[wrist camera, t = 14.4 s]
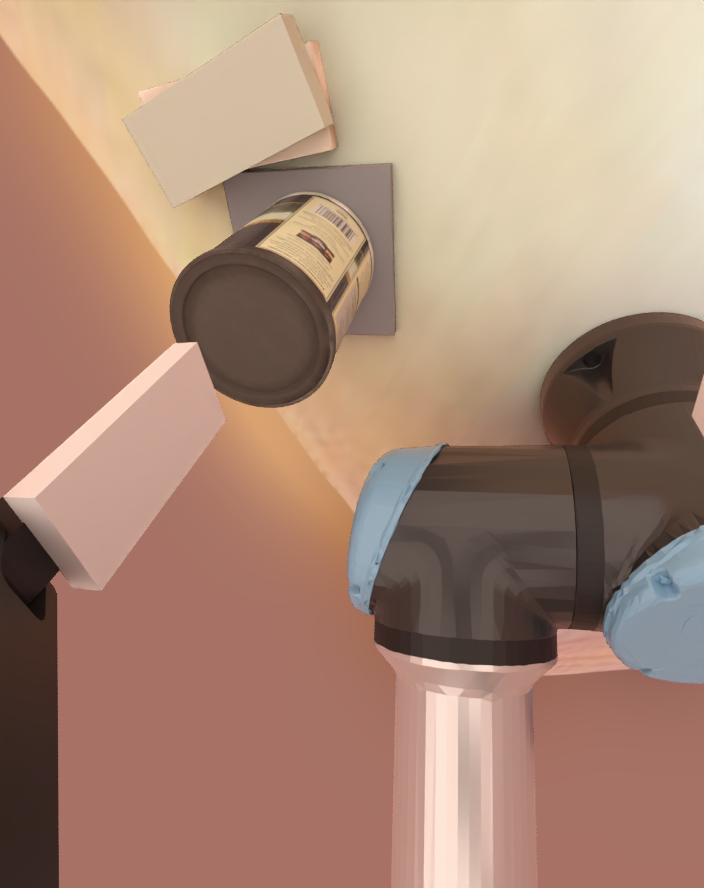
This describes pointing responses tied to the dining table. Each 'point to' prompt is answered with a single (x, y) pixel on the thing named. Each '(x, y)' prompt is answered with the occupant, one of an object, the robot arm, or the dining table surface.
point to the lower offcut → (306, 146)
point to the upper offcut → (231, 112)
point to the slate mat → (361, 193)
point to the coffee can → (276, 299)
